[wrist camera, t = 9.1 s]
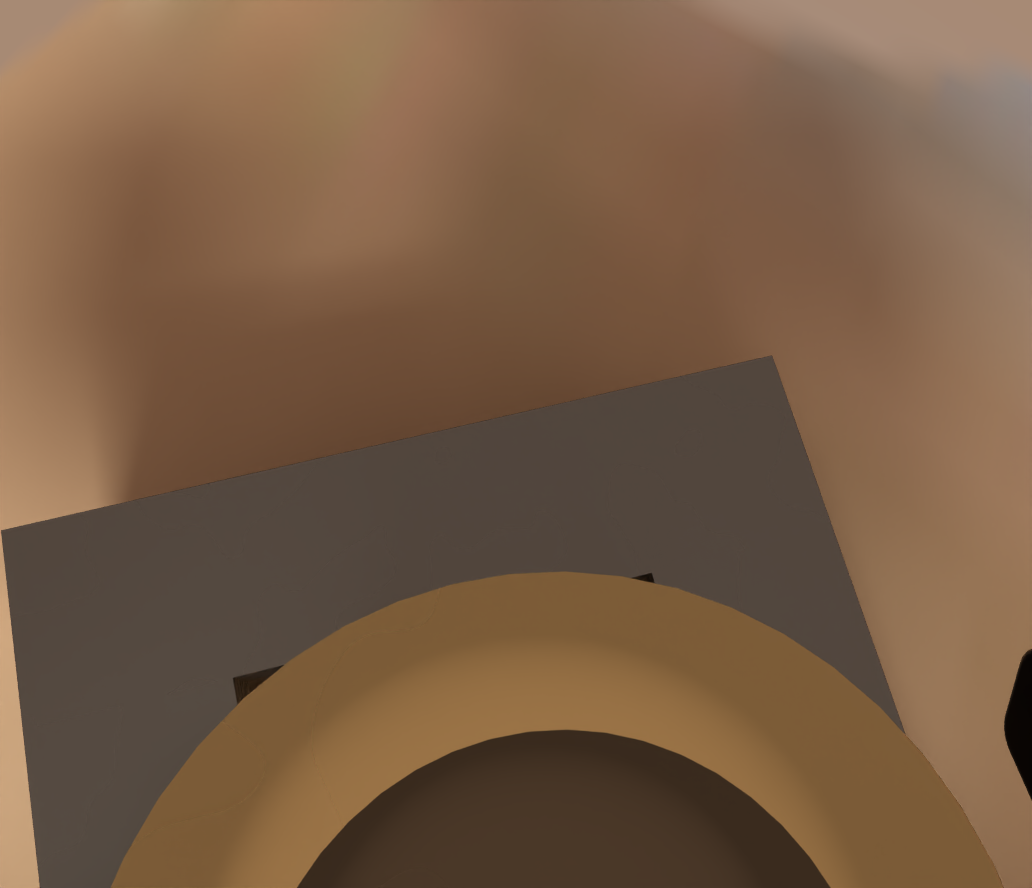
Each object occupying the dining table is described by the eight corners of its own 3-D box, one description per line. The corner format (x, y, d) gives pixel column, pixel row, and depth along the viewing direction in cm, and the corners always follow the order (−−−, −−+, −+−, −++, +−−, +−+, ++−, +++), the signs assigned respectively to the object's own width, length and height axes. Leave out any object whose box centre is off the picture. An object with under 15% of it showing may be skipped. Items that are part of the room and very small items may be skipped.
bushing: (646, 924, 16) (1244, 1516, 4) (398, 996, 15) (126, 1961, 3) (579, 672, 17) (862, 481, 5) (346, 734, 16) (-3, 694, 4)
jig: (919, 1093, 15) (1073, 1211, 11) (210, 1325, 14) (112, 1548, 10) (707, 439, 18) (772, 355, 14) (107, 579, 17) (1, 530, 13)
